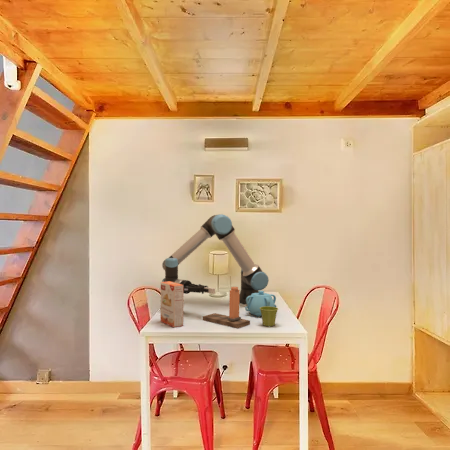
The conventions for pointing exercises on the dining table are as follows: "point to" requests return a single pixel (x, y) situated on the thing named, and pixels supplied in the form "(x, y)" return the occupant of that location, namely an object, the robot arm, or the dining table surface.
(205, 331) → the dining table surface
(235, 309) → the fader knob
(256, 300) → the decorative pot
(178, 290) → the cracker box
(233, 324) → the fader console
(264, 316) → the plant pot
